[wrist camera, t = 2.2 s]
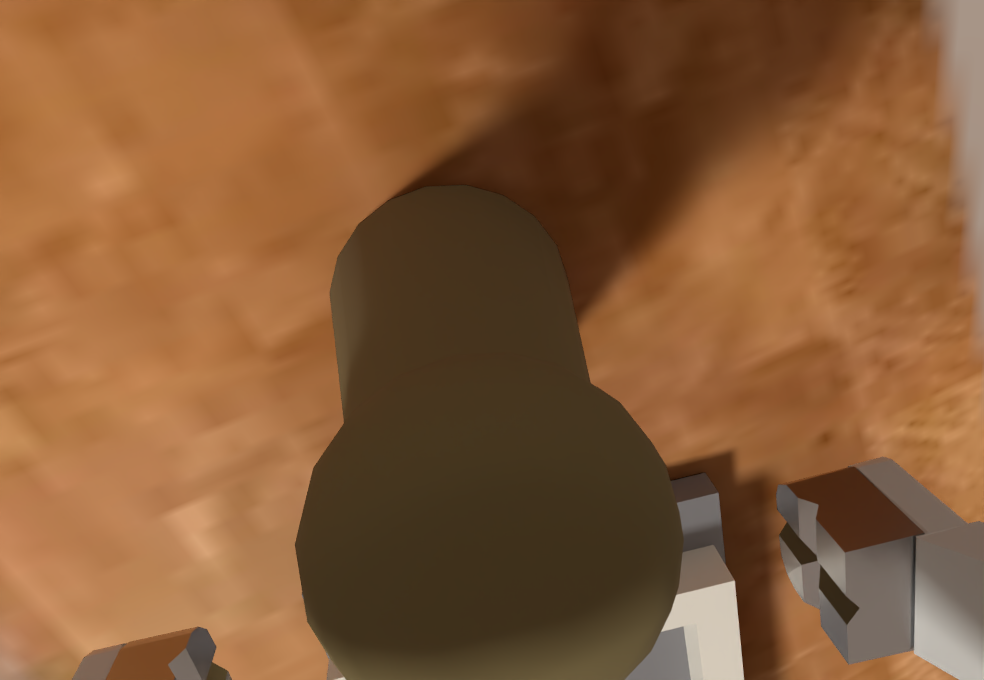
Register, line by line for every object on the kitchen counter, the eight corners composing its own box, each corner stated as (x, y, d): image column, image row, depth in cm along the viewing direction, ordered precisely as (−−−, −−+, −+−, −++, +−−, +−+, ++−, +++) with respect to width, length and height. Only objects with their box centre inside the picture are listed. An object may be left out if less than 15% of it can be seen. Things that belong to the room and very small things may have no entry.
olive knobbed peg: (550, 161, 17) (748, 354, 7) (582, 382, 20) (762, 751, 10) (299, 212, 17) (154, 479, 7) (363, 429, 20) (322, 851, 10)
